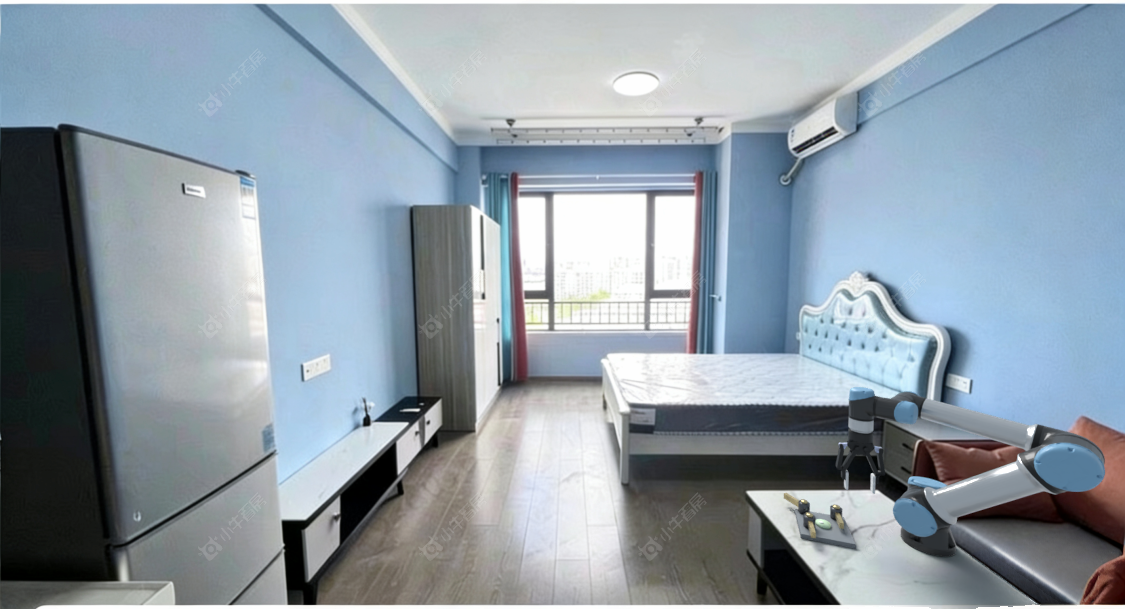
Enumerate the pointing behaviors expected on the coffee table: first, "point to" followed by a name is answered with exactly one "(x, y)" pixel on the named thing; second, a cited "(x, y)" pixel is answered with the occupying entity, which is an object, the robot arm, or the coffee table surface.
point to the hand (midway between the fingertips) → (859, 489)
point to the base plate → (826, 530)
